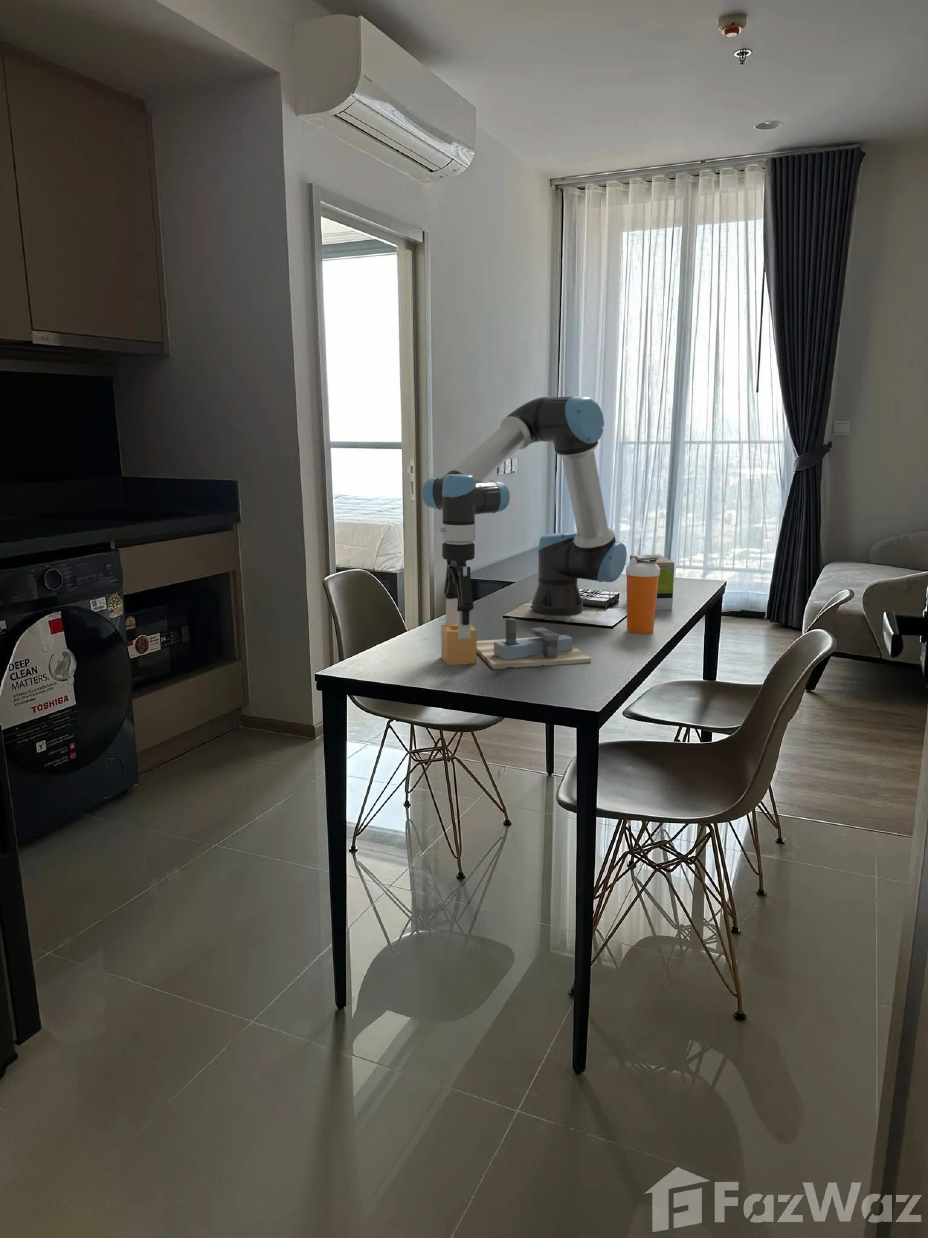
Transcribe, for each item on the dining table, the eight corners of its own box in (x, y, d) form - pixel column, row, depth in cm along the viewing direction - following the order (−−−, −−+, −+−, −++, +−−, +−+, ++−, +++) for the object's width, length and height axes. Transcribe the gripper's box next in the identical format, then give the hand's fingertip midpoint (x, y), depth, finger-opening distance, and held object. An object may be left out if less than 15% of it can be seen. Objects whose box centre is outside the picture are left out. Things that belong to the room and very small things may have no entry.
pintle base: (470, 645, 222) (470, 606, 220) (559, 639, 228) (560, 602, 225) (492, 668, 202) (493, 626, 199) (590, 662, 207) (592, 621, 205)
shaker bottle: (657, 635, 232) (660, 560, 227) (622, 633, 234) (626, 559, 229) (656, 627, 240) (660, 555, 236) (623, 626, 242) (626, 554, 238)
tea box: (627, 600, 276) (629, 554, 273) (658, 599, 277) (660, 553, 273) (640, 610, 261) (642, 562, 258) (673, 610, 262) (675, 561, 259)
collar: (441, 657, 211) (441, 625, 210) (469, 655, 213) (469, 623, 211) (447, 665, 205) (447, 631, 203) (476, 663, 206) (476, 630, 204)
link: (505, 660, 204) (505, 647, 204) (493, 653, 210) (493, 641, 209) (574, 651, 212) (575, 639, 212) (562, 645, 218) (562, 633, 217)
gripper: (432, 535, 213) (432, 620, 218) (454, 549, 190) (453, 644, 194) (462, 535, 215) (461, 619, 220) (487, 549, 191) (486, 643, 196)
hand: (457, 631), depth 207 cm, fingers open, 13 cm apart
